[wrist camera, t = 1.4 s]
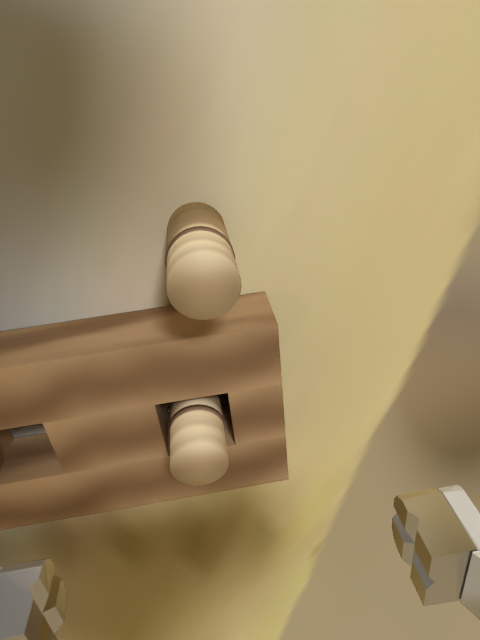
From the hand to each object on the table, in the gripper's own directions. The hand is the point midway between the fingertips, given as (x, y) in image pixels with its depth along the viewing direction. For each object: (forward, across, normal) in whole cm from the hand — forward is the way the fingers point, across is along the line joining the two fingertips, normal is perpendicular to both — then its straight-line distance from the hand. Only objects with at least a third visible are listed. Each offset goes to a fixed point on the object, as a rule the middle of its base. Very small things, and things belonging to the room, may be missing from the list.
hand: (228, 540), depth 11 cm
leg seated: (+22, +2, +11) cm, 24 cm away
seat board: (+21, +8, +11) cm, 25 cm away
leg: (+21, 0, 0) cm, 21 cm away
